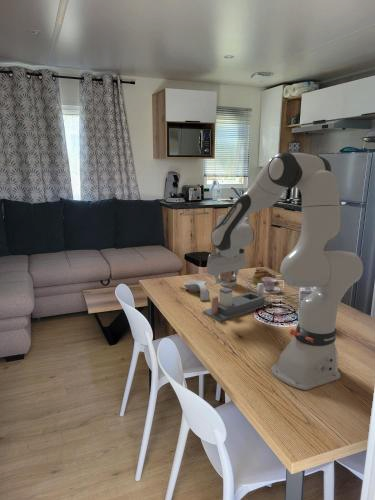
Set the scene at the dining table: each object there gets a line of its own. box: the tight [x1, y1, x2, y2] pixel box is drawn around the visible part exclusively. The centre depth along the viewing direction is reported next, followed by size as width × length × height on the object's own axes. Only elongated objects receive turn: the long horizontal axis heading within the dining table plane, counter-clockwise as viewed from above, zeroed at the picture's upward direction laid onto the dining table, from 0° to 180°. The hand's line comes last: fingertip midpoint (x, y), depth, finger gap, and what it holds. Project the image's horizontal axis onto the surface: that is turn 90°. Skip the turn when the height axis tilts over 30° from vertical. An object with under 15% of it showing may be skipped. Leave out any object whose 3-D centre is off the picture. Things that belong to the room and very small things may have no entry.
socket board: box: [202, 283, 273, 322], centre depth 169 cm, size 33×12×9 cm, turn 126°
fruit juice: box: [219, 271, 238, 288], centre depth 201 cm, size 9×9×28 cm
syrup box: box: [297, 287, 315, 322], centre depth 154 cm, size 6×6×14 cm
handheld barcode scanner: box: [183, 280, 210, 302], centre depth 190 cm, size 24×12×7 cm, turn 16°
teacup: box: [262, 277, 282, 295], centre depth 193 cm, size 12×12×6 cm
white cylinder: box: [218, 287, 233, 308], centre depth 164 cm, size 4×4×10 cm
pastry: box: [251, 267, 277, 286], centre depth 207 cm, size 13×15×8 cm
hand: (226, 281), depth 161 cm, fingers open, 8 cm apart
